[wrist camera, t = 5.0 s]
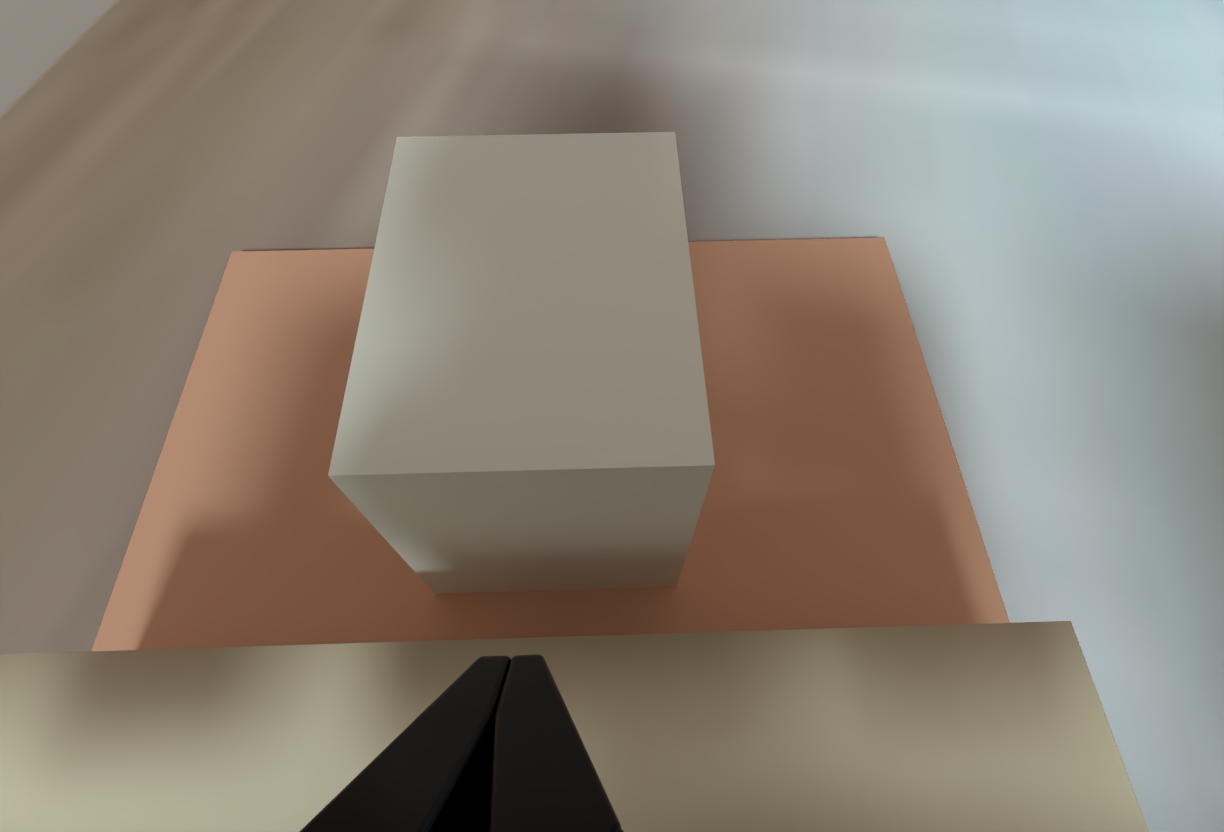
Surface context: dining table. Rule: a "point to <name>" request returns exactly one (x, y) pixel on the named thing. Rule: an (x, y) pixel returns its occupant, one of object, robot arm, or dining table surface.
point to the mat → (701, 602)
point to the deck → (588, 730)
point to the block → (530, 365)
